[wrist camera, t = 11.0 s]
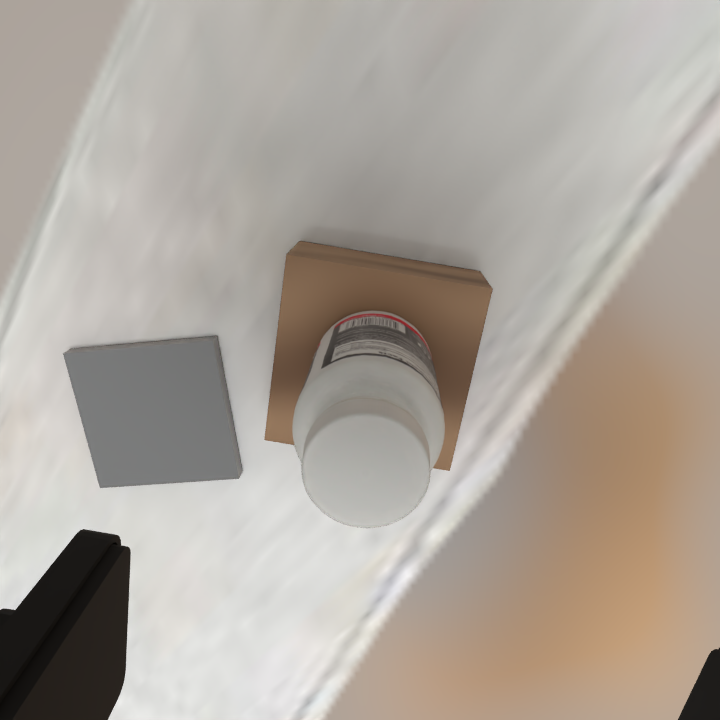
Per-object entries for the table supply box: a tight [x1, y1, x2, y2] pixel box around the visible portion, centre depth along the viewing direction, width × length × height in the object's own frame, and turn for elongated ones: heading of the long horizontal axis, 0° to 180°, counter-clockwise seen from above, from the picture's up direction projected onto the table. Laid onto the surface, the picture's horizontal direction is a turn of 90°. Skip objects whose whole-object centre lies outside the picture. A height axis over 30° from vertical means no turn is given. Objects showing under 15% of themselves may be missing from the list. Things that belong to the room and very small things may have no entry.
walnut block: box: [265, 241, 493, 471], centre depth 30 cm, size 9×9×4 cm
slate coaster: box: [63, 336, 242, 488], centre depth 33 cm, size 8×8×1 cm
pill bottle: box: [292, 311, 445, 528], centre depth 23 cm, size 5×5×10 cm
